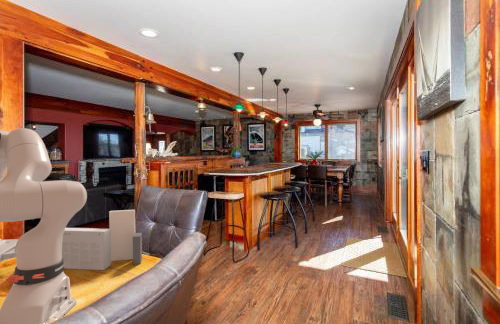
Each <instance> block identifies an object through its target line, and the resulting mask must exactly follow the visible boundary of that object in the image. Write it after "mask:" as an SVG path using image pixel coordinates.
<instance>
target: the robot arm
mask: <svg viewBox="0 0 500 324" xmlns="http://www.w3.org/2000/svg"><path fill="white" fill-rule="evenodd" d="M52 169H53V167H52V162H51V160H50V157H49V153H48V150H47V147H46V144H45V143H44V141H43V139H42V137H41V136H40V135H39V133H37V131H35V130H33V129H31V128H27V127H26V128H25V127H24V128H23V127H20V128H16V129H13V130H11V131H9V130H3V129H0V223H10V222H11V223H13V222H18V221H20V222H22V221H27V220H28V221H29V220H35V219H40V221H39V222H38V224H37V225H36V226H35V227H33V228H31V229H30V230H28V231H27V232H25V233H23V234H22V235H20V237H19V238H14V239H13V238H12V239H11V238H9V239H2V238H0V263H2V262H3V261H6V260H10V259H13V258H15V259H16V260H15V261H16V266H15V267H14V271H13V275H12V274H11V275H10V276H9V277H8V281H7V282H8V283H9V284H12V285H11V287H10V290H9V291H8V293H7V295H6V297H5V299H4V301H3V303H2V304H1V307H0V324H46V323H50V321H51V322H53V321H54V320H57V319H59V318H61V319H63V317H64V316H65V315H66V314H67V313H68V312H69V311H70V310H71V309H73V307H75V305H76V304H77V299H76V298H74V297H72V292H71V282H70V277H69V276H68V275H67V274H65V272H64V271H65V269H64V259H63V258H62V240H63V233H64V230H65V228H67V225H68V223H69V222H70V221H71V219H72V218H73V217H74V216H75V215H76V214H77V213H78V212H80V210H82V208H83V207H85V205H86V202H87V199H88V192H87V190H86V188H85V186H84V185H83V184H82V183H81V182H80V181H74V180H65V179H62V180H46V179H47V178H48V177H49V176H50V175H51V173H52ZM64 314H65V315H64ZM53 318H55V319H54V320H51V319H53ZM49 320H50V321H49Z"/></svg>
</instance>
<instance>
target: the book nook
mask: <svg viewBox="0 0 500 324" xmlns="http://www.w3.org/2000/svg"><path fill="white" fill-rule="evenodd" d="M108 213H109V214H108V215H109V216H108V217H109V219H108V220H109V221H108V222H109V223H108V224H109V225H108V227H109V228H108V229H111V262H119V261H128V260H132V264H133V265H141V264H142V261H143V237H142V236H143V232H136V209H124V210H123V209H122V210H110V211H108Z"/></svg>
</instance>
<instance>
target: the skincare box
mask: <svg viewBox="0 0 500 324" xmlns="http://www.w3.org/2000/svg"><path fill="white" fill-rule="evenodd" d="M62 258H63V259H64V270H67V269H68V270H90V271H93V270H94V271H105V270H107V269H108V268H109V267H111V266H112V261H111V229H109V228H98V227H97V228H95V227H94V228H93V227H91V228H90V227H66V228H65V230H64V233H63V240H62Z"/></svg>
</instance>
